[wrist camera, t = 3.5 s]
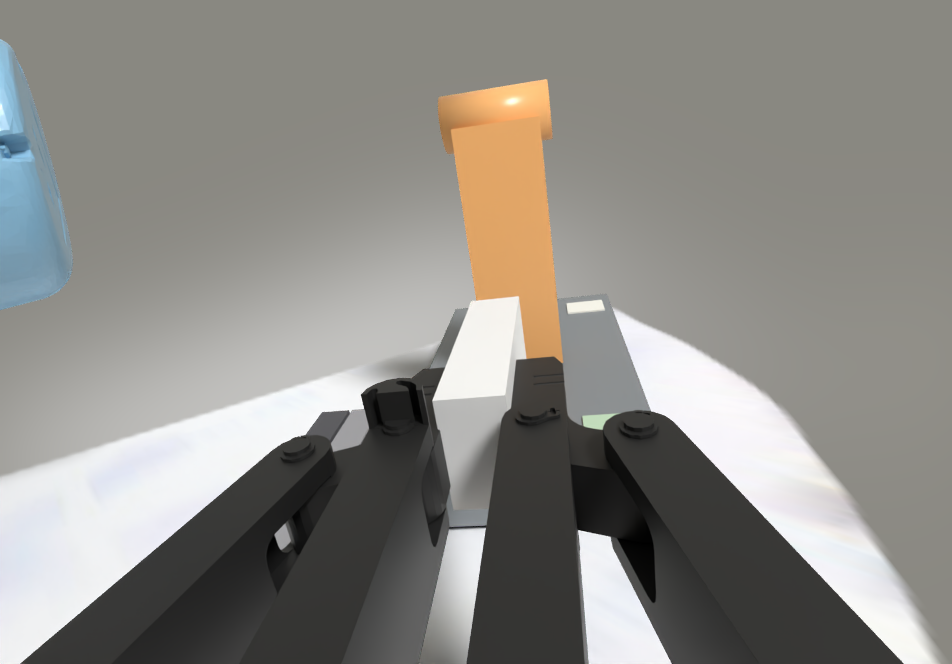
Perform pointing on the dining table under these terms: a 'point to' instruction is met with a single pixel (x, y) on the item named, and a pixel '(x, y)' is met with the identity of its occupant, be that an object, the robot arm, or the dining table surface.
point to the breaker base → (574, 372)
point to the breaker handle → (507, 201)
